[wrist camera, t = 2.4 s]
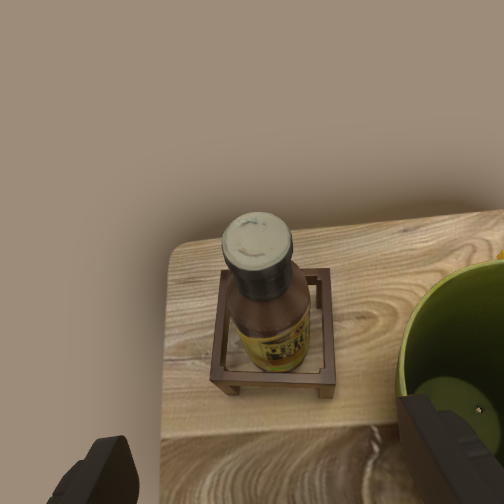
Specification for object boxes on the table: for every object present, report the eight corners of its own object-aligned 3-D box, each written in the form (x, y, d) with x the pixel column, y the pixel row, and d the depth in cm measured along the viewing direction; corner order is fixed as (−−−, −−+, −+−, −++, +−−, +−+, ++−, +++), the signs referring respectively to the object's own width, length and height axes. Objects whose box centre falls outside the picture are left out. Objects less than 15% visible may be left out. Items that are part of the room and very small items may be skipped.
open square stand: (226, 394, 36) (209, 380, 30) (234, 298, 41) (221, 269, 35) (332, 398, 35) (336, 384, 29) (327, 298, 40) (329, 267, 34)
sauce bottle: (280, 390, 36) (248, 320, 19) (235, 346, 38) (172, 249, 21) (324, 341, 37) (332, 236, 20) (278, 302, 40) (251, 180, 23)
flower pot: (575, 391, 32) (769, 335, 18) (528, 578, 27) (750, 695, 13) (403, 311, 38) (453, 221, 24) (336, 452, 32) (352, 442, 19)
